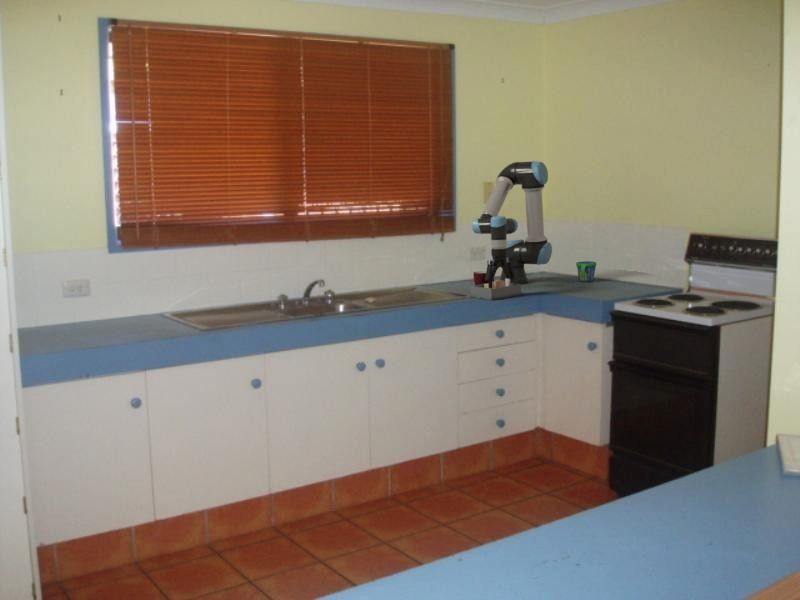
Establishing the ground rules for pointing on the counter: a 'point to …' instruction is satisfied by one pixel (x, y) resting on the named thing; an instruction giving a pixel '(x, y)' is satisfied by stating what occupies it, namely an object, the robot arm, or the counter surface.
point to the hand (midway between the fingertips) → (500, 293)
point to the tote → (495, 291)
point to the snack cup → (586, 271)
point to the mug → (480, 277)
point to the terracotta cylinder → (499, 283)
